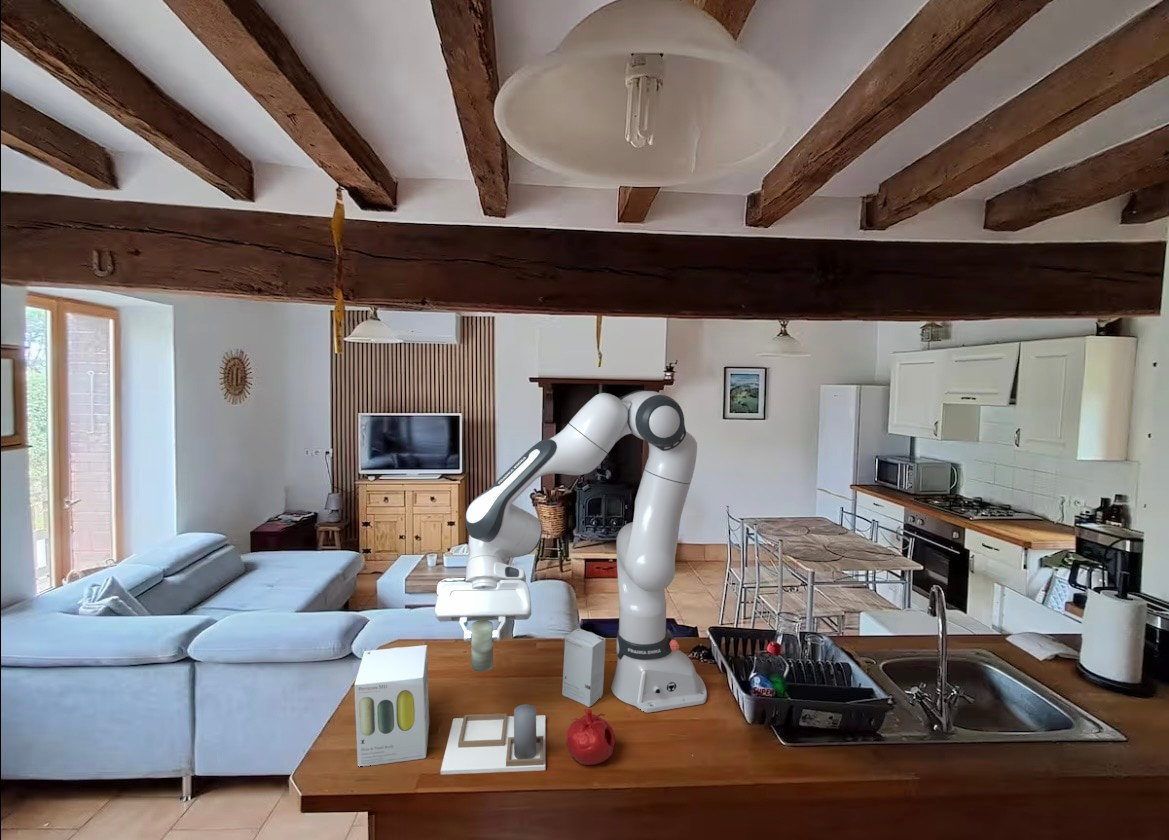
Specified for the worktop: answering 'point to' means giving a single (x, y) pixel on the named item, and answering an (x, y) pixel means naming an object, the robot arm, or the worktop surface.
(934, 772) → the worktop surface
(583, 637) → the skincare box
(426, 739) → the supplement box
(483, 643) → the sage pin
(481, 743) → the board
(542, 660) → the worktop surface
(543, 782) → the worktop surface
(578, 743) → the pomegranate
